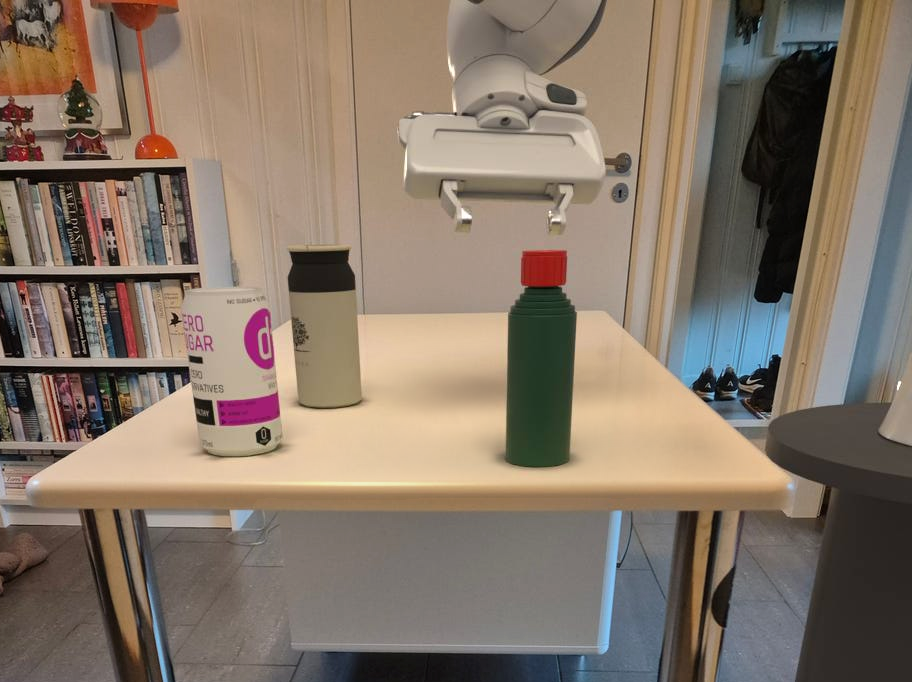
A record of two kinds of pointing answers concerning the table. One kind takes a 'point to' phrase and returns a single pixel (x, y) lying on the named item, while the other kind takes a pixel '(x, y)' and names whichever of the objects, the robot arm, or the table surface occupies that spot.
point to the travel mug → (324, 325)
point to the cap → (543, 268)
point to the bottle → (540, 377)
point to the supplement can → (232, 369)
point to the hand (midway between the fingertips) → (510, 229)
